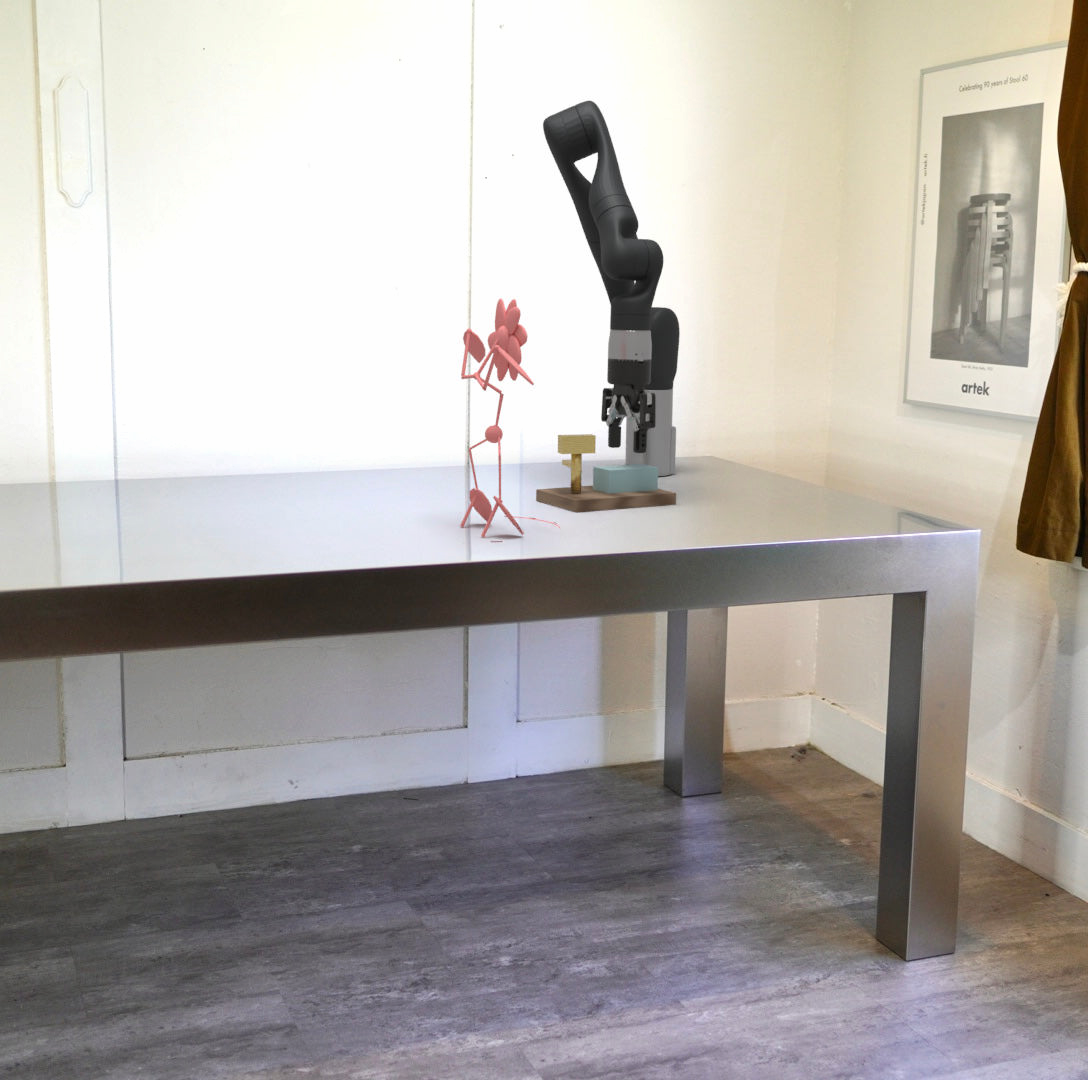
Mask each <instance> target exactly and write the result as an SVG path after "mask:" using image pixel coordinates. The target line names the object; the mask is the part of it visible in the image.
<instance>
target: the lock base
mask: <svg viewBox="0 0 1088 1080" xmlns="http://www.w3.org/2000/svg"><path fill="white" fill-rule="evenodd" d="M535 490H536V491H535V492H536V493H535V500H536V502H540V503H542V504H543V503H544V504H547V505H550V506H554V507H556V508H559V509H564V510H566V511H570V512H574V513H586V512H595V511H608V510H623V509H631V508H632V509H636V508H646V507H649V508H650V507H658V506H660V507H661V506H670V505H672V506H673V505H677V492H673V491H669V490H665V489H662V488H658V490H651V491H637V492H624V493H610V494H609V493H605V492H601V491H597V490H593V484H592V485H583V486H582V485H581V493H571V486H566V487H554V488H553V487H551V488H540V489H539V488H537V489H535Z"/></svg>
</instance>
